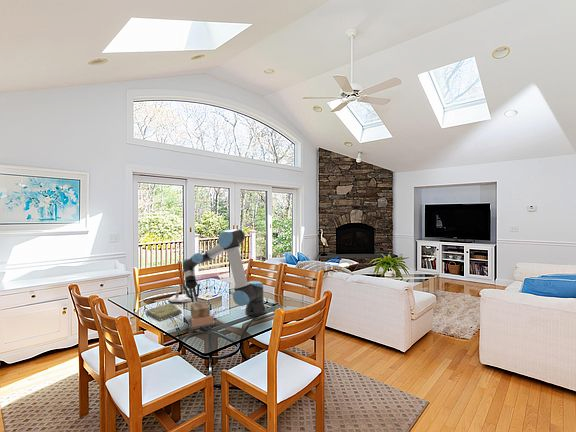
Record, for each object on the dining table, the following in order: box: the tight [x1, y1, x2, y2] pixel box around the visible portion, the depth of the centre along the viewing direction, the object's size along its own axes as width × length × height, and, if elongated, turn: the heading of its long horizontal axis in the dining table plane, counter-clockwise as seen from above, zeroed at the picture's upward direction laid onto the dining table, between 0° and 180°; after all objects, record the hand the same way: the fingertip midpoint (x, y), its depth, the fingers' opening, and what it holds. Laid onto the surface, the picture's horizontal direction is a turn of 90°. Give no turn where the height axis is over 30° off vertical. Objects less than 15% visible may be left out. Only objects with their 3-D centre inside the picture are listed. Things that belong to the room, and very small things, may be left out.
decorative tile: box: [146, 303, 182, 321], centre depth 231 cm, size 19×20×4 cm
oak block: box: [190, 301, 211, 321], centre depth 213 cm, size 13×12×10 cm
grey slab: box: [184, 314, 216, 330], centre depth 216 cm, size 16×22×6 cm
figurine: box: [168, 279, 192, 303], centre depth 258 cm, size 20×18×16 cm
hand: (195, 305), depth 226 cm, fingers closed
